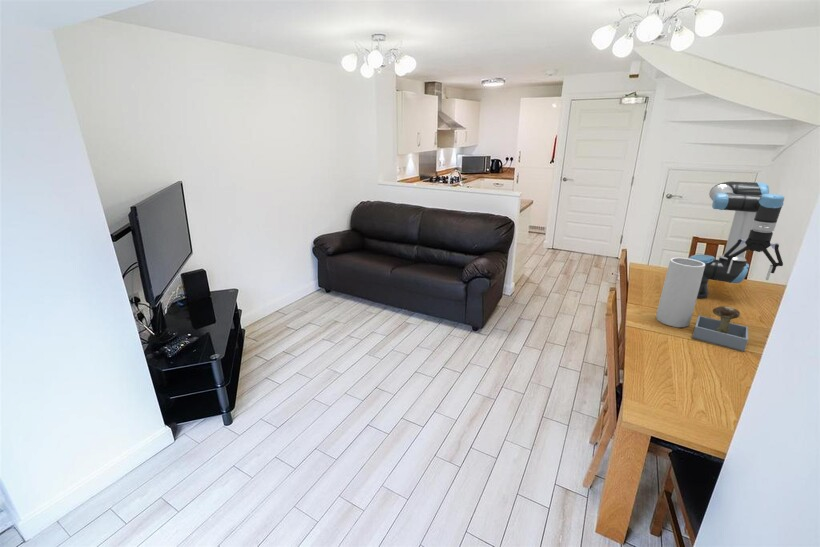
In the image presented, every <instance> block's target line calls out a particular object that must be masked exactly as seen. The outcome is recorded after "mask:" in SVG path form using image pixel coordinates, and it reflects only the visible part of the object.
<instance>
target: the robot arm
mask: <svg viewBox="0 0 820 547" xmlns="http://www.w3.org/2000/svg"><path fill="white" fill-rule="evenodd" d="M708 195H709V198H710V200H711V201H712V204H711V207H712V209H713V210H719V211H732V212H733V211H735V212H734V215H733V219H732V223H731V227H730V230H729V234H728V237H727V241H726V245H725V249H724V252H723V254H722V255H720V256H719V258H718V259H716V258H715V256H713V255H709V254H694V255H690V256H689V257H688V258H689V259H694V260H698V261H701V262H703V263H705V269H704V272H703V276H702V280H701V284H700V288H699V292H698V295H697V299H696V300H698V299H700V300H702V299H703V300H704V299H707V298H708V297H709V286H708V283H709V280H710V281H711V280H712V281H717V282H723V283H724V282H725V283H729V284H740V283H742V282H743V281H744V280H745V278H746V276H747V274H748V272H749V268H750V264H749V263H747V259H746V258H745V254H746V252H747V251H751V252H757V253H760V252H761V253H763V254H764V255H765V256H766V258H767V259H768V261H769V262H770V263H771V264H770V265H769V268H768V271H767V273H766V277H765V281H769V278H770V277H771V274H775V272H776V269H777V267H783V266H784V263H783V259H782V257H781V252H780V250H779V249H780V248H779V247H780V244H779V243H778V242H776V243H771V240H772V238H773V234H774V233H773V232H774V231H775V228H776V225H777V222H778V219H779V216H780V214H781V210H782V208H783V206H784V201H785V196H784V195H782V194H774V193H770V187H769V185H768V184H767V183H764V182H753V181H752V182H749V181H724V182H721V183H718V184H716V185H714V186H712V188H711V189H710V190H709V194H708ZM770 247H771V248H772V249H773V250H774V253H775V257H776V259H777V262H776V260H775V259H774V257H773V256H772V255H771V253H770V252H769V250H768V248H770Z"/></svg>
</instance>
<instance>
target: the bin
mask: <svg viewBox="0 0 820 547" xmlns="http://www.w3.org/2000/svg"><path fill="white" fill-rule="evenodd" d="M720 323H721V319H716V318H711V317H709V316H702V315H698V316H697V319H696V323H695V327H694V330H693V332H692V333H693V334H692V336H691V339H694V340H696V341H697V340H698V341H701V342H704V343H708V344H713V345H715V346H720V347H723V348H727V349H732V350H735V351H739V352H743V353H744V352H745V350H746V348H747V345H748V342H749V326H748V325H747V326H745V325H743V324H737V323H733V322H730V324H729V330H728V331H727V334H726V333H722V332H718V331H715V330H716V329H717V328H718V327H719V326H720Z"/></svg>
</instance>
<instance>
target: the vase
mask: <svg viewBox="0 0 820 547" xmlns="http://www.w3.org/2000/svg"><path fill="white" fill-rule="evenodd" d="M704 269H705V263H703V262H701V261H698V260H694V259H689V257H672V258H670V259H669V263H668V267H667V271H666V275H665V278H664V282H663V285H662V286H663V287H662V290H661V294H660V298H659V302H658V305H657V309H656V310H657V311H656V315H655V318H656V320H657V321H658V322H659V323H661V324H663V325H666V326H670V327H674V328H686V327H688V326H690V323H691V322H692V321H691V320H692V317H693V314H694V310H695V307H696V302H697V300H698V299H697V295H698V292H699V288H700V284H701V280H702V276H703V272H704Z"/></svg>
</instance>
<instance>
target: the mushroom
mask: <svg viewBox="0 0 820 547" xmlns="http://www.w3.org/2000/svg"><path fill="white" fill-rule="evenodd" d="M712 313H713V314H714V315H716V316H718V317H720V318H719V319H720V320H721V323H720V326H719V327H718V328H717V329H716V330H715V331H718V332H722V333H726V334H727V331H728V330H729V324H730V323H731V320H734V319H737V318H740V316H741V312H740V311H739V310H738V309H736V308H735V307H734V308H733V307H729V306H722V305H721V306H718V307H715V308H713V309H712Z"/></svg>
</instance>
